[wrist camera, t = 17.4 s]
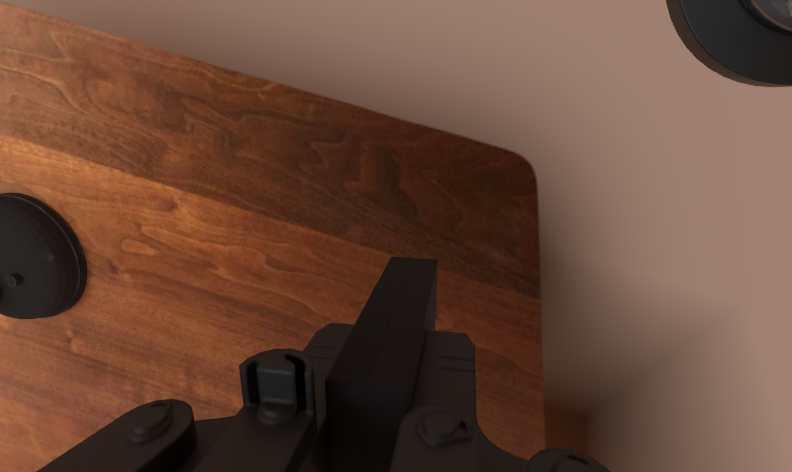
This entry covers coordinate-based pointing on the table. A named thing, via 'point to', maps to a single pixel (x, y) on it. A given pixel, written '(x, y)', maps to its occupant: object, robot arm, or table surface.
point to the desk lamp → (37, 260)
